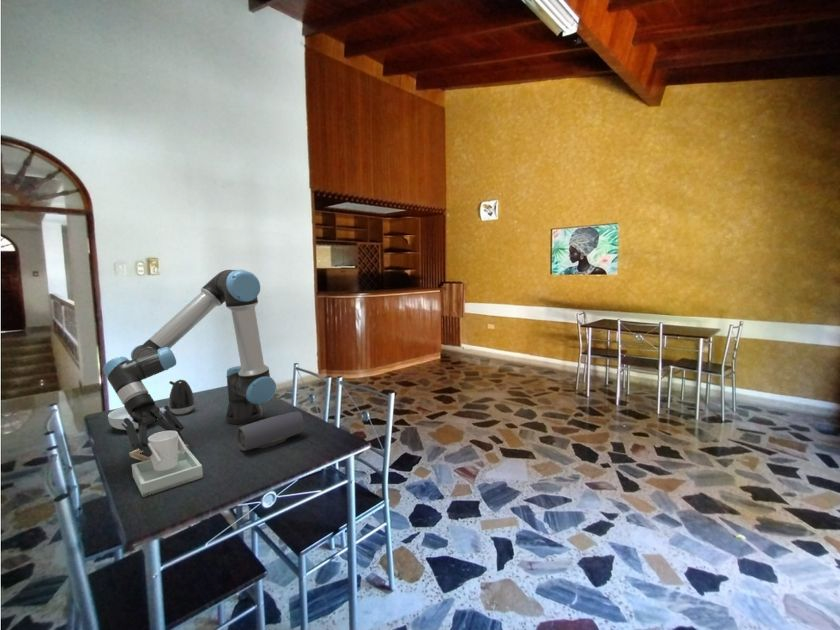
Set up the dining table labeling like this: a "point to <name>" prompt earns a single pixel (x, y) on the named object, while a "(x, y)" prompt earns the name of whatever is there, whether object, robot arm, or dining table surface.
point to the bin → (166, 474)
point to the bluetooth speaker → (270, 431)
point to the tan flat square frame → (138, 456)
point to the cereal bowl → (119, 418)
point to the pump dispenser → (181, 397)
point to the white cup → (165, 449)
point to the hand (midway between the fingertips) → (171, 457)
